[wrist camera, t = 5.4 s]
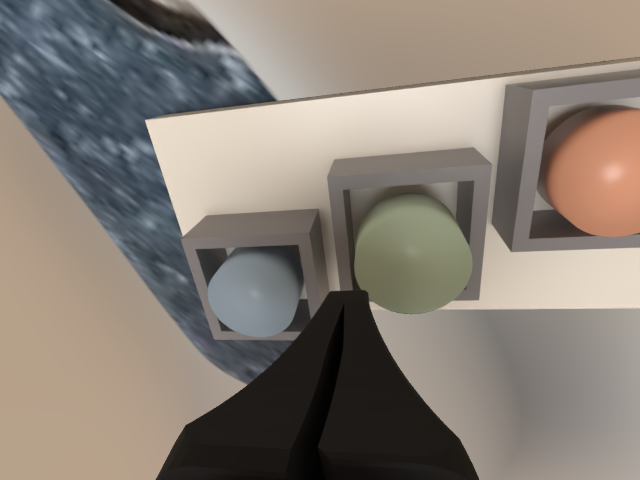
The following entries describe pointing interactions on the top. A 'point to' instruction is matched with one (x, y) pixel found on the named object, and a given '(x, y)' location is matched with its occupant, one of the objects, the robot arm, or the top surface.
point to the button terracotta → (595, 170)
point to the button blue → (257, 290)
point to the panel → (400, 185)
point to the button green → (411, 254)
